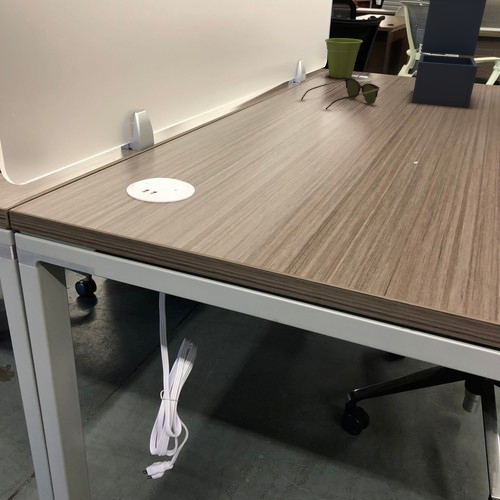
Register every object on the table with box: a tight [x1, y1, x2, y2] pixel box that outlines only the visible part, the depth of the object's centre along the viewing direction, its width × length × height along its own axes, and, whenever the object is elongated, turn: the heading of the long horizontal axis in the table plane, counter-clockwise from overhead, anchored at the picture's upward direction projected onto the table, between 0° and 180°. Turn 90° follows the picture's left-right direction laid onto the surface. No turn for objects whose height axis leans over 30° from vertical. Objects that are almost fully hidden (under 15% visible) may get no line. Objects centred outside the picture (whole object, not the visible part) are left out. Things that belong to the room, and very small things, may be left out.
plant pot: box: [324, 37, 363, 80], centre depth 162 cm, size 12×12×11 cm
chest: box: [411, 53, 479, 108], centre depth 135 cm, size 18×14×10 cm
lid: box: [420, 0, 487, 57], centre depth 137 cm, size 19×14×6 cm
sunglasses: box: [300, 77, 380, 110], centre depth 128 cm, size 14×15×5 cm
